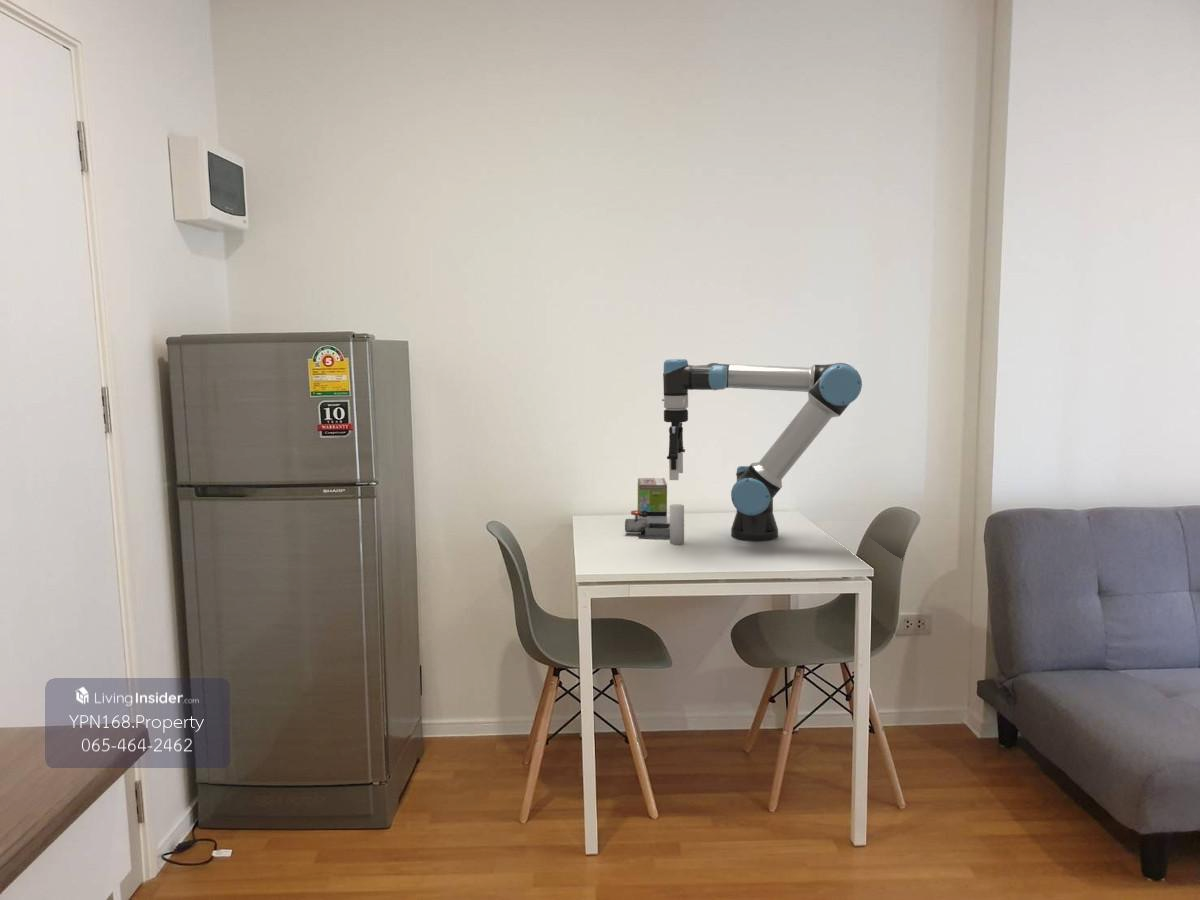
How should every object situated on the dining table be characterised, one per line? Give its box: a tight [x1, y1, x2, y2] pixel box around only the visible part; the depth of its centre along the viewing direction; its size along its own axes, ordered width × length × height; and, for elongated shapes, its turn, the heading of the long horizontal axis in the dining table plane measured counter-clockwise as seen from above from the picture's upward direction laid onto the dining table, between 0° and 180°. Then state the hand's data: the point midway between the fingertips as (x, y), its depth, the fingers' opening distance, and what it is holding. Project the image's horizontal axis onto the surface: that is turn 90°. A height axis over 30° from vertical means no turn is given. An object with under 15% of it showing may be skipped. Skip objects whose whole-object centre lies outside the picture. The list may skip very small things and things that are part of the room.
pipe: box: [669, 503, 685, 545], centre depth 271 cm, size 4×4×12 cm
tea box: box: [637, 477, 668, 524], centre depth 302 cm, size 15×10×15 cm
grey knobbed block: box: [624, 509, 670, 541], centre depth 282 cm, size 17×12×8 cm
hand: (676, 476), depth 269 cm, fingers open, 13 cm apart
